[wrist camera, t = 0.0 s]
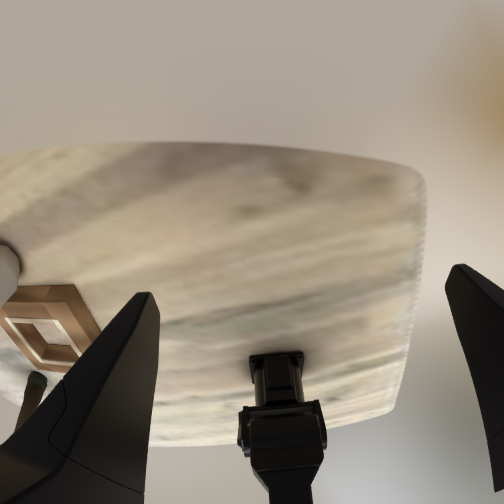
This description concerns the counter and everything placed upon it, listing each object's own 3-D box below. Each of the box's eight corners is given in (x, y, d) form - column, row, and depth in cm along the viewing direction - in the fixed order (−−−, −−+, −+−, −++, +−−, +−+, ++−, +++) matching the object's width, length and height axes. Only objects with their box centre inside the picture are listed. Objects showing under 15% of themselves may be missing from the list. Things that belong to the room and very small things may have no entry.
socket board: (121, 361, 36) (117, 379, 34) (42, 355, 36) (37, 370, 34) (74, 284, 28) (65, 303, 26) (-8, 287, 28) (-18, 302, 26)
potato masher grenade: (17, 372, 41) (-19, 514, 17) (21, 355, 37) (-22, 520, 13) (56, 393, 45) (29, 535, 21) (65, 380, 41) (33, 544, 17)
